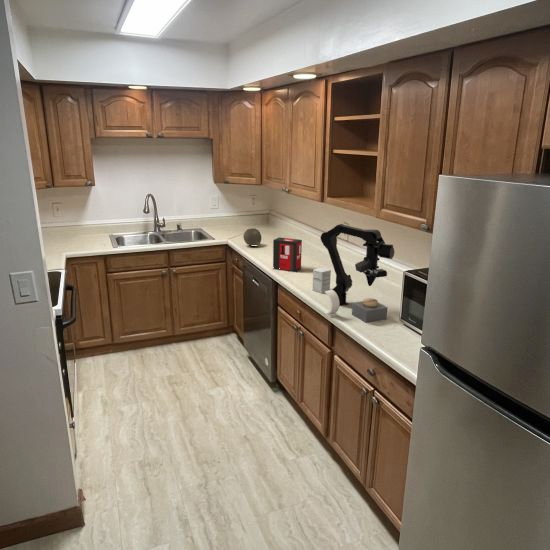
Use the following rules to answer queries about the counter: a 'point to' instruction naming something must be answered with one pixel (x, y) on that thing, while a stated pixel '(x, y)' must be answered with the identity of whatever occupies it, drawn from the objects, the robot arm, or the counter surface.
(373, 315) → the gray rectangular block
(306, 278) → the counter surface
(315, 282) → the supplement box
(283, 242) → the cleaning product box
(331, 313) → the headphone stand
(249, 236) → the spherical smart speaker
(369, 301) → the tan rounded lump
